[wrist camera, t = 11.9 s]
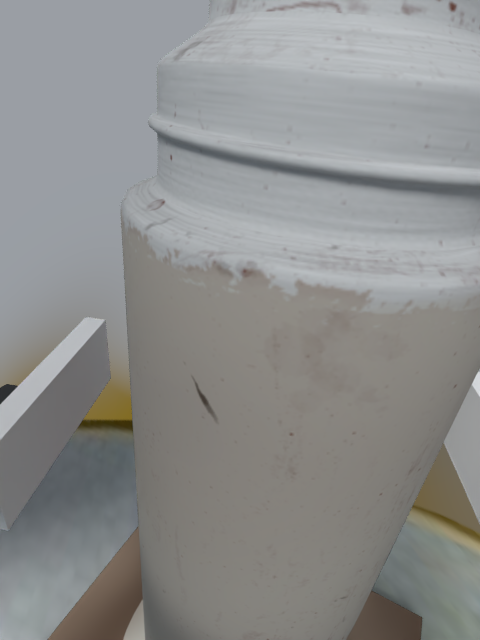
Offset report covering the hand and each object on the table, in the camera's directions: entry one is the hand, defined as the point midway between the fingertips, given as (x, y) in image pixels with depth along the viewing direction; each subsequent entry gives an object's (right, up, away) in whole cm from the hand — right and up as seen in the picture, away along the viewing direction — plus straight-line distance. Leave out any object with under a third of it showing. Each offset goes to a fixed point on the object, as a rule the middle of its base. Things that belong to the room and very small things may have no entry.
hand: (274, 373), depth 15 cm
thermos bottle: (-2, -15, +5) cm, 16 cm away
